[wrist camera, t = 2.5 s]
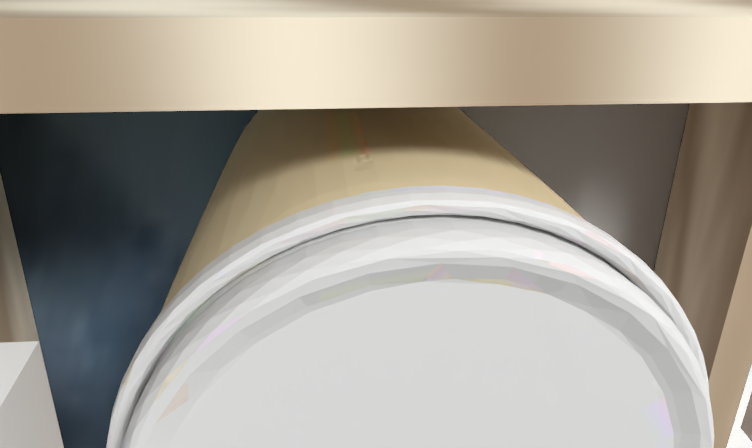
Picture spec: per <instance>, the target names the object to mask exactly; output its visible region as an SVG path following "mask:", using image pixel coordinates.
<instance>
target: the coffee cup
mask: <svg viewBox="0 0 752 448" xmlns="http://www.w3.org/2000/svg"><path fill="white" fill-rule="evenodd" d="M106 448H714V426H713V416H712V408H711V402H710V397H709V383H708V376H707V371H706V366H705V361H704V356H703V353H702V351H701V348H700V345H699V342H698V339H697V336H696V334H695V331H694V329H693V328H692V326H691V324H690V322H689V320H688V318H687V317H686V315H685V313H684V311H683V309H682V308H681V306H680V304H679V303H678V301H677V300H676V299H675V297H674V296H673V295H672V293H671V292H670V291H669V289H668V288H667V286H666V285H665V284H664V282H663V281H662V280H661V279H660V278H659V277H658V276H657V275H656V274H655V273H654V272H653V271H652V270H651V269H650V268H649V267H648V266H647V264H646V263H645V262H644V261H643V260H641V259H640V258H639V257H638V256H636V255H635V254H634V253H632V252H631V251H630V250H629V249H627V248H626V247H625V246H623V245H622V244H621V243H620V242H618V241H617V240H616V239H614V238H613V237H612V236H610V235H609V234H608V233H606V232H604V231H603V230H601V229H599V228H598V227H596V226H594V225H593V224H591V223H589V222H587V221H586V220H584V219H583V218H582V217H581V216H580V215H579V214H578V213H577V212H576V211H575V210H574V209H573V208H572V207H571V206H569V205H568V204H567V203H566V202H565V201H564V200H563V199H562V198H561V197H560V196H558V195H557V194H556V193H555V192H554V191H553V190H552V189H551V188H549V187H548V186H547V185H546V184H545V183H544V182H543V181H541V180H540V179H539V178H538V177H537V176H536V175H535V174H534V173H532V172H531V171H530V170H529V169H528V168H527V167H526V166H525V165H523V164H522V163H521V162H520V161H519V160H518V159H517V158H515V157H514V156H513V155H512V154H511V153H510V152H509V151H508V150H506V149H505V148H504V147H503V146H502V145H501V144H500V143H498V142H497V141H496V140H495V139H494V138H493V137H491V136H490V135H489V134H488V133H487V132H486V131H484V130H483V129H482V128H481V127H480V126H479V125H478V124H476V123H475V122H474V121H473V120H472V119H471V118H469V117H468V116H467V115H466V114H465V113H464V112H462V111H461V110H460V109H459V108H458V107H403V108H338V109H272V110H258V112H257V113H256V114H255V115H254V116H253V118H252V119H251V120H250V122H249V123H248V124H247V126H246V127H245V129H244V130H243V132H242V133H241V135H240V137H239V139H238V141H237V143H236V144H235V146H234V148H233V150H232V152H231V154H230V156H229V158H228V160H227V163H226V165H225V167H224V169H223V171H222V174H221V176H220V178H219V180H218V182H217V184H216V187H215V189H214V191H213V193H212V195H211V198H210V200H209V202H208V204H207V206H206V209H205V211H204V213H203V215H202V217H201V220H200V222H199V224H198V227H197V229H196V231H195V233H194V236H193V238H192V240H191V242H190V245H189V247H188V249H187V252H186V254H185V256H184V258H183V261H182V263H181V265H180V268H179V270H178V272H177V274H176V277H175V279H174V281H173V283H172V286H171V288H170V291H169V293H168V296H167V298H166V301H165V303H164V306H163V308H162V310H161V313H160V314H159V315H158V317H157V318H156V320H155V321H154V323H153V324H152V326H151V327H150V329H149V330H148V332H147V333H146V335H145V336H144V338H143V339H142V341H141V343H140V345H139V347H138V349H137V351H136V353H135V355H134V357H133V359H132V361H131V363H130V365H129V367H128V369H127V371H126V373H125V375H124V377H123V379H122V382H121V385H120V388H119V391H118V394H117V397H116V400H115V403H114V406H113V409H112V415H111V421H110V427H109V433H108V439H107V445H106Z"/></svg>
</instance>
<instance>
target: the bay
mask: <svg viewBox="0 0 752 448" xmlns="http://www.w3.org/2000/svg"><path fill="white" fill-rule="evenodd" d="M663 103H690V105H689V110H688V115H687V119H686V124H685V128H684V133H683V138H682V142H681V147H680V152H679V156H678V161H677V166H676V170H675V175H674V180H673V184H672V189H671V193H670V198H669V203H668V207H667V212H666V217H665V221H664V226H663V231H662V235H661V240H660V244H659V249H658V254H657V258H656V263H655V268H654V273H655V274H656V275H657V276H658V277H659V278H660V279H661V280H662V281H663V282H664V284H665V285H666V286H667V288H668V289H669V291H670V292H671V293H672V295H673V296H674V297H675V299H676V300H677V301H678V303H679V304H680V306H681V308H682V309H683V311H684V313H685V315H686V317H687V318H688V320H689V322H690V324H691V326H692V328H693V329H694V331H695V334H696V336H697V339H698V342H699V345H700V348H701V351H702V353H703V356H704V361H705V366H706V371H707V376H708V383H709V397H710V402H711V408H712V416H713V426H714V448H726V446H727V443H728V439H729V436H730V433H731V430H732V426H733V423H734V420H735V417H736V413H737V410H738V407H739V403H740V400H741V397H742V394H743V390H744V387H745V384H746V380H747V377H748V374H749V371H750V367H751V364H752V0H0V114H12V113H77V112H142V111H207V110H272V109H338V108H403V107H468V106H533V105H598V104H663ZM30 341H39V337H38V333H37V329H36V324H35V320H34V316H33V311H32V307H31V303H30V298H29V294H28V290H27V285H26V281H25V277H24V272H23V268H22V264H21V260H20V255H19V251H18V247H17V242H16V238H15V234H14V229H13V225H12V221H11V216H10V212H9V208H8V204H7V199H6V195H5V191H4V186H3V182H2V178H1V173H0V343H5V342H30ZM39 344H40V341H39ZM40 349H41V346H40ZM41 353H42V350H41ZM42 357H43V354H42ZM43 361H44V359H43ZM44 366H45V363H44ZM45 370H46V367H45ZM46 374H47V372H46ZM47 379H48V376H47ZM48 383H49V380H48ZM49 387H50V385H49ZM50 391H51V389H50ZM51 396H52V393H51ZM52 400H53V397H52ZM53 404H54V402H53ZM54 408H55V406H54ZM55 413H56V410H55ZM56 417H57V415H56ZM57 421H58V419H57ZM58 425H59V423H58ZM59 430H60V428H59ZM60 434H61V432H60ZM61 438H62V436H61ZM62 443H63V441H62ZM63 447H64V445H63Z"/></svg>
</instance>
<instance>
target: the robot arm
mask: <svg viewBox="0 0 752 448" xmlns="http://www.w3.org/2000/svg"><path fill="white" fill-rule="evenodd" d="M741 429H742V430H743V431H744V432H745V434H746V435H747V436H748V437H749V438H750V440H751V441H752V394H751V397H750V400H749V403H748V406H747V409H746V413H745V416H744V419H743V422H742V425H741ZM0 448H64V447H63V443H62V438H61V434H60V430H59V425H58V421H57V417H56V413H55V408H54V404H53V400H52V396H51V391H50V387H49V383H48V379H47V374H46V370H45V366H44V361H43V357H42V353H41V349H40V344H39V341H30V342H5V343H0Z"/></svg>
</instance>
